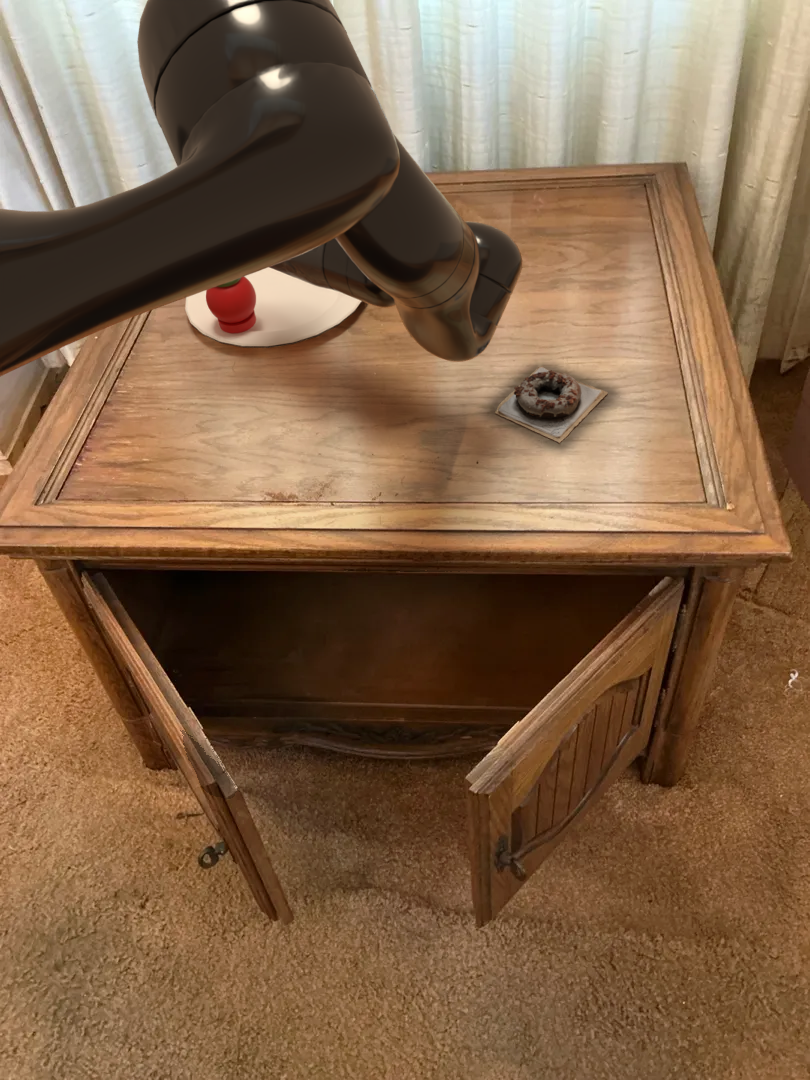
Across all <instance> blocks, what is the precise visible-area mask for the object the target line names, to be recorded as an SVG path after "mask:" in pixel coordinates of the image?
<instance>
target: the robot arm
mask: <svg viewBox="0 0 810 1080" xmlns="http://www.w3.org/2000/svg"><path fill="white" fill-rule="evenodd" d="M136 41H137V42H136V43H137V55H138V63H139V64H138V65H139V69H140V74H141V77H142V81H143V84H144V87H145V90H146V91H145V92H146V94H147V98H148V101H149V104H150V106H151V109H152V112H153V115H154V117H155V119H156V122H157V123H158V125H159V128H160V129H161V131H162V133H163V136H164V138H165V140H166V143H167V146H168V148H169V151H170V152H171V155H172V158H173V160H174V162H175V164H176V167H175V168H172V169H171V170H169V171H168V172H166V173H164V174H162V175H160V176H158V177H156V178H154V179H152V180H150V181H148V182H145V183H143V184H140V185H139V186H136V187H134V188H131V189H128V190H126V191H125V190H124V191H123V192H119V193H117V194H113V195H111V196H108V197H105V198H102V199H99V200H96V201H93V202H91V203H88V204H84V205H80V206H75V207H71V208H65V209H56V210H35V211H34V210H29V211H28V210H19V209H10V208H9V209H7V208H0V378H1V377H3V376H4V375H7V374H9V373H11V372H13V371H15V370H17V369H20V368H22V367H24V366H26V365H28V364H30V363H32V362H34V361H37V360H38V359H40V358H43V357H45V356H47V355H49V354H51V353H53V352H55V351H58V350H61V349H62V348H64V347H66V346H69V345H70V344H73V343H75V342H78V341H80V340H82V339H84V338H87V337H89V336H91V335H93V334H95V333H98V332H100V331H102V330H104V329H107V328H110V327H111V326H112V327H113V326H115V325H117V324H119V323H121V322H124V321H126V320H129V319H131V318H134V317H137V316H139V315H143V314H145V313H148V312H151V311H153V310H157V309H158V308H161V307H165V306H166V305H169V304H172V303H174V302H178V301H180V300H183V299H186V297H189V296H192V295H194V294H197V293H200V292H203V291H205V290H208V289H211V288H214V287H216V286H219V285H222V284H225V283H227V282H230V281H233V280H236V279H238V278H241V277H244V276H247V275H249V274H252V273H255V272H258V271H260V270H263V269H265V268H268V267H269V268H272V269H274V270H277V271H280V272H282V273H285V274H287V275H289V276H292V277H294V278H297V279H300V280H302V281H305V282H307V283H310V284H312V285H315V286H318V287H322V288H327V289H331V290H335V291H338V292H341V293H343V294H346V295H348V296H351V297H353V298H356V299H358V300H360V301H362V303H365V304H367V305H371V306H373V307H378V308H383V309H384V308H385V309H386V308H388V309H389V308H391V307H392V308H393V307H394V306H395V307H396V310H397V312H398V313H397V314H398V315H399V318H400V320H401V322H402V324H403V326H404V328H405V330H406V331H407V333H408V334H409V335H410V337H411V338H412V339H413V340H414V341H415V342H416V343H417V344H418V345H419V346H420V347H421V348H422V349H424V350H425V351H426V352H427V353H429V354H430V355H432V356H434V357H436V358H439V359H441V360H444V361H448V362H455V363H462V362H468V361H471V360H473V359H475V358H477V357H478V356H481V354H483V353H484V352H485V350H486V349H487V348H488V346H489V344H490V343H491V341H492V339H493V337H494V335H495V332H496V330H497V327H498V326H499V323H500V321H501V319H502V317H503V315H504V312H505V310H506V307H507V305H508V304H509V301H510V299H511V296H512V294H513V292H514V290H515V288H516V286H517V284H518V281H519V279H520V277H521V274H522V271H523V256H522V253H521V251H520V249H519V247H518V245H517V244H516V242H515V240H514V239H512V237H510V236H509V235H508V234H507V233H506V232H505V231H503V230H502V229H500V228H498V227H495V226H493V225H490V224H487V223H483V222H479V221H478V222H477V221H468V220H467V221H466V220H465V219H464V218H463V217H462V216H461V215H460V213H459V212H458V211H457V209H455V207H454V206H453V205H452V203H451V202H450V201H449V200H448V199H447V198H446V196H445V195H444V194H443V193H442V192H441V190H440V189H439V188H438V187H437V186H436V184H434V182H433V181H432V179H430V178H429V176H428V175H427V174H426V172H425V171H424V170H423V169H422V168H421V167H420V165H419V164H418V163H417V161H416V160H415V159H414V158H413V156H411V154H410V153H409V152H408V150H407V149H406V147H405V146H404V145H403V144H402V143H401V141H400V140H399V138H398V137H397V136H396V134H395V133H394V131H393V129H392V127H391V124H390V123H389V120H388V117H387V115H386V113H385V111H384V109H383V106H382V105H381V102H380V100H379V98H378V95H377V93H376V91H375V90H374V88H373V86H372V84H371V82H370V79H369V77H368V75H367V73H366V71H365V69H364V67H363V65H362V62H361V61H360V58H359V56H358V54H357V51H356V50H355V48H354V45H353V43H352V42H351V39H350V37H349V35H348V32H347V30H346V28H345V26H344V24H343V22H342V20H341V19H340V16H339V14H338V13H337V11H336V9H335V7H334V5H333V4H332V2H331V1H330V0H147V1H146V3H145V6H144V8H143V11H142V13H141V15H140V17H139V24H138V33H137V40H136Z"/></svg>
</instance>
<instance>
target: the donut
mask: <svg viewBox="0 0 810 1080" xmlns="http://www.w3.org/2000/svg"><path fill="white" fill-rule="evenodd" d="M513 389H514V390H513V391H511V393H509V394H508V396H506V397H505V399H503V400H502V401H501V402H500V403H498V406H497V407H496V408H497V409H496V410H495V412H494V414H496V415H498V416H500V417H502V418H505V419H507V420H510V421H511V422H513V423H516V424H518V425H520V426H522V427H525V428H526V429H527V430H528V429H529V430H530V431H533V432H535V433H538V434H540V435H541V436H544V437H546V438H548V439H549V440H550V439H551V440H553V441H555V442H557V443H559V444H560V443H561V442H563V441H564V439H566V438H567V436H569V434H571V432H572V431H573V430H574V428H575V427H577V426H578V425H579V424H580V423H581V422H582V420H583V419H585V418H586V417H587V416H588V415H589V413H590V412H591V411H592V410H593V409H594V408H595V407H596V406H597V405H598V404H599V403H600V402H601V401H602V399H604V398H605V396H607V394H608V393H609V392H608V391H606V390H604V389H600V388H597V387H595V386H593V385H589V384H587V383H584V382H581V381H578V380H576V379H575V378H574V377H572V376H571V375H569V374H567V373H564V372H563V373H562V372H557V371H554V370H552V369H547V368H545V367H544V366H541V365H540V366H537V367H536V368H535V370H534V371H533V372H531V374H530V375H529V376H527V377H525V378H524V379H523V381H522V382H520V384H519V385H518V386H514V387H513Z"/></svg>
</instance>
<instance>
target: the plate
mask: <svg viewBox="0 0 810 1080" xmlns="http://www.w3.org/2000/svg"><path fill="white" fill-rule="evenodd" d="M244 277H246V278H247V279H248V280H249V281H250V282H251V284H252V285H253V287H254V290H255V293H256V305H255V308H254V312H255V316H256V323H255V324H254V326H253V327H252V328H250V329H249V330H247V331H244V332H241V333H227V332H224V331H223V330H222V329H221V328H220V326H219V322H218V319H217V318H216V317H215V316H214V315H213V314H212V313H211V311H210V310H209V308H208V305H207V302H206V290H205V291H203V292H200V293H197V294H194V295H192V296H189V297H186V298H185V306H184V308H185V309H184V311H185V313H186V316H187V318H188V320H189V323H190V325H191V326H192V327H194V328H195V329H196V330H197V331H198V332H199V333H200V334H201V335H203V336H204V337H206V338H209V339H211V340H213V341H215V342H218V343H219V344H223V345H229V346H233V347H238V348H243V349H245V348H247V349H253V348H254V349H268V348H270V349H271V348H276V347H282V346H289V345H290V346H291V345H295V344H299V343H301V342H304V341H307V340H311V339H313V338H317V337H319V336H321V335H323V334H326V333H327V332H328V331H331V330H332V329H334V328H336V327H338V326H340V325H341V324H342V323H343V322H345V321H346V320H347V319H348V318H350V316H352V315H353V314H354V313H355V312H356V311H357V309H358V308H359V307H360V305H361V304H362V303H363V301H360V300H358V299H356V298H353V297H351V296H348V295H346V294H343V293H341V292H338V291H335V290H331V289H327V288H322V287H318V286H315V285H312V284H310V283H307V282H305V281H302V280H300V279H297V278H294V277H292V276H289V275H287V274H285V273H282V272H280V271H277V270H274V269H272V268H269V267H268V268H265V269H263V270H260V271H258V272H255V273H252V274H249V275H247V276H244Z"/></svg>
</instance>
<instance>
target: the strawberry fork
mask: <svg viewBox="0 0 810 1080" xmlns="http://www.w3.org/2000/svg"><path fill="white" fill-rule="evenodd" d="M206 302H207V305H208V308H209V310H210V311H211V313H212V314H213V315H214V316H215V317H216V318H217V319H218V322H219V326H220V328H221V329H222V330H223V331H224V332H227V333H241V332H244V331H247V330H249V329H250V328H252V327H253V326H254V324H255V323H256V316H255V312H254V308H255V305H256V293H255V290H254V287H253V285H252V284H251V282H250V281H249V280H248V279H247V278H246V277H241V278H238V279H236V280H233V281H230V282H227V283H225V284H222V285H219V286H216V287H214V288H211V289H208V290H206Z"/></svg>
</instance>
